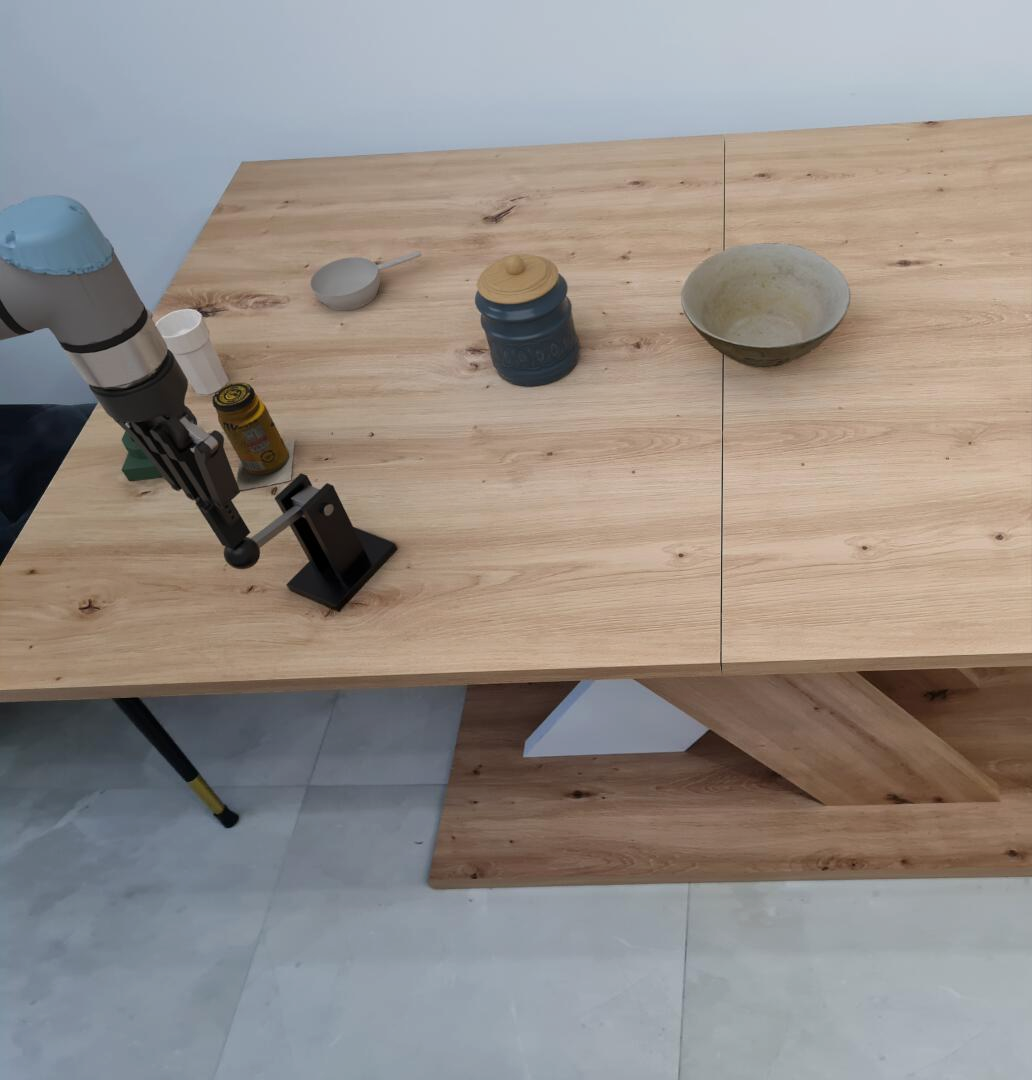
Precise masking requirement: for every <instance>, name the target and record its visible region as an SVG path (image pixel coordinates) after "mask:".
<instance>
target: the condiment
mask: <svg viewBox="0 0 1032 1080" xmlns="http://www.w3.org/2000/svg"><path fill="white" fill-rule="evenodd" d="M212 407H213V408H215V411H216V413H217V420H218V422H219V425H220V427H221V428H222V430H223V432H224V434H225V436H226V437H227V440H228V441H229V443H230V445H231V446H232V448H233V450H234V452H235V454H236V455H237V458H238V459H239V464H238V469H237V475H236V482H237V485H238V487H239V490H240V491H244V490H250V489H256V488H257V489H258V488H261V487H269V486H271V485H276V484H282V483H285V482H292V473H293V471H292V470H293V461H294V450H295V439H289V440H285V441H284V439H283V438H282V436H281V434H280V432H279V430H278V428H277V426H276V424H275V422H274V420H273V418H272V417H271V414H270V411H269V410H268V408H267V406H266V404H265V403H264V402H263V400H262V399H260V398H259V396H258V395H257V393H256V392H255V389H254V388H253V387H252V386H251V385H250V384H249V383H246V382H232V383H228V384H226V385H225V386H224V387H222V388H221V389H220V390H218V391H216V392H214V394H213V396H212Z"/></svg>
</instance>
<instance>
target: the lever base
mask: <svg viewBox="0 0 1032 1080" xmlns="http://www.w3.org/2000/svg"><path fill="white" fill-rule="evenodd" d="M308 485H310V486H312V487H314V486H313V484H312V481H311V480H310V478H309V476H308V475H307V474H304V473H302V472H301V473H299V474H298V475H297V476H296V477H295V478H294V479H293V480H291V481H290V483H289V484H287V486H285V487H284V488H283V489H282V490H281V491H280V492H278V494H277V495H276V496H274V501H275V502H276V504H277V506H278V507H279V509H280V511H281V513H282V515H283V514H284V513H285V512H287V511H288V510H289V509H291V508H292V507H293V503H292V500H291V498H292V497H293V496H295V495H296V494H297V493H299V492H300V491H301V490H303V489H304V488H305V487H307V486H308ZM301 510H302V512H303V514H304V516H305V518H304V517H302V516H301V517H300V518H299V519H297V520H296V521H295V522H293V523H292V524H291V525H290V526H289V527H290V529H291V530H292V532H293V534H294V536H295V538H296V540H297V541H298V544H299V545H300V547H301V549H302V550H303V552H304V554H305V556H306V558H307V559H308V562H307V563H306V564H305V565H304V566H303V567H301V569H300V570H299V571H298V572H297V573H296V574H295V575H294V576H293V577H292V578H291V579H290V580H289V581H288V582H287V583H286V585H285V586H286V587H287V589H288V591H290V592H292V593H295V594H296V595H299V596H301V597H303V598H306V599H308V600H311V601H312V602H315V603H317V604H319V605H322V606H324V607H327V608H329V609H330V610H333V611H336V612H339V613H340V612H341V610H342V609H344V607H345V606H346V605H348V603H349V602H350V601H351V600H352V599H353V598H354V597H355V596H356V595H357V593H358V592H359V591H360V590H361V589H362V588H363V587H364V586H365V585H366V584H367V583H368V582H369V581H370V579H371V578H372V577H373V576H374V575H375V574H376V573H377V572H378V571H379V570H380V569H381V567H383V566H384V564H385V563H386V562H387V561H388V560H389V559H390V558H391V557H392V556H393V554H395V552H397V550H398V546H397V545H396V543H395V542H393V541H391V540H388V539H386V538H384V537H380V536H378V535H376V534H373V533H371V532H368V531H366V530H363V529H360V528H358V527H356V526H354V525H353V523H352V520H351V519H350V517H349V515H348V512H347V510H346V509H345V507H344V505H343V503H342V501H341V499H340V497H339V495H338V492H337V490H336V488H335V486H334V485H333V484H331V483H329V482H326V483H325V484H324V485H323V486H322V487H321V488H320V490H319V491H318V492H317V493H316V494H315V495H314V496H313V497H312V498H311V499H310V500H309V501H308V502H307V503H305V504H304V505H303V506H302V507H301Z"/></svg>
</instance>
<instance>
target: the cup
mask: <svg viewBox="0 0 1032 1080" xmlns="http://www.w3.org/2000/svg"><path fill="white" fill-rule="evenodd" d="M155 325H156V327H157V329H158V330H159V332H160V334H161V336H162V337H163V339H164V341H165V343H166V344H167V348H168V349H169V350H170V351H171V352H172V353H173V355H174V357H175V359H176V360H177V362H178V364H179V365H180V367H181V369H182V371H183V372H184V374H185V376H186V378H187V381H188V383H190V385H191V387H192V388H193V390H194V391H195V393H196V394H197V395H212V394H213V393H214V394H215V393H216V392H217V391H218V390H220V389H221V388H222V387H224V386H226V385H228V383H229V381H230V380H229V378H228V376H227V373H226V372H225V369H224V367H223V364H222V363H221V360H220V357H218V353H217V352H216V349H215V348H214V345H213V343H212V341H211V338H210V336H211V335H210V330H209V328H208V325H207V324H206V321H205V319H204V317H203V315H202V313H201V312H199V311H198V310H195V309H193V308H192V309H191V308H187V309H186V308H185V309H178V310H174V311H171V312H169V313H167V314H165V315H163V316H162V317H161V318H159V319H158V320H156V322H155Z"/></svg>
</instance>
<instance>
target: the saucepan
mask: <svg viewBox="0 0 1032 1080" xmlns="http://www.w3.org/2000/svg"><path fill="white" fill-rule="evenodd" d="M421 256H422V252H421V250H417V251H414V252H411V253H408V254H405V255H403V256H401V257H397V258H394V259H391V260H389V261H386V262H383V263H380V264H376V263H375V262H374V261H373V260H371V259H369V258H366V257H359V256H354V257H352V256H351V257H343V258H340V259H339V258H338V259H336V260H333V261H331V262H328V263H326V264H324V265H323V266H321V267H319V269H317V270H316V271H315V272H314V273H313V275H312V276H311V278H310V280H309V286H310V288H311V291H312V292H313V294H314V296H315V297H316V298H317V300H319V301H320V302H321V303H322V304H324V305H326V306H327V307H328V308H329V309H332V310H336V311H351V310H355V309H358V308H361V307H364V306H366V305H367V304H369V303H370V302H372V301H373V300H374V299H375V298H376V296H377V294H378V290H379V288H380V285H381V275H380V272H381V271H383V270H386V269H388V268H392V267H395V266H397V265H400V264H404V263H406V262H409V261H412V260H415V259H417V258H420V257H421Z"/></svg>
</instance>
